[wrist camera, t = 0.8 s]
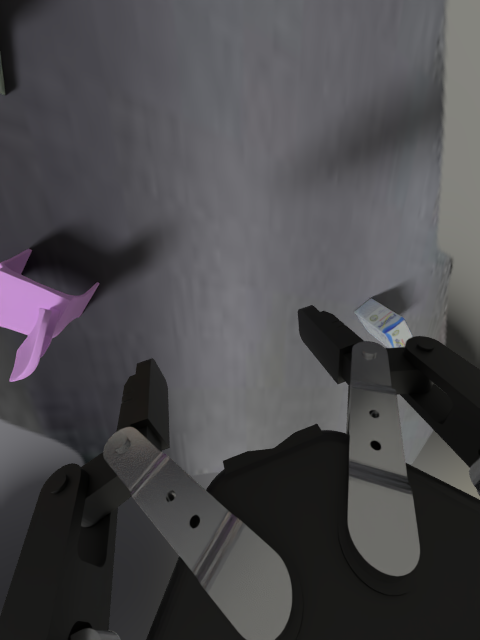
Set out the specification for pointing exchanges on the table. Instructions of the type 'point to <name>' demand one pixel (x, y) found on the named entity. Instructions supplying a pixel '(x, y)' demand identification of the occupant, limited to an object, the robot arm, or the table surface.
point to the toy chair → (34, 312)
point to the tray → (1, 79)
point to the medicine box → (383, 324)
